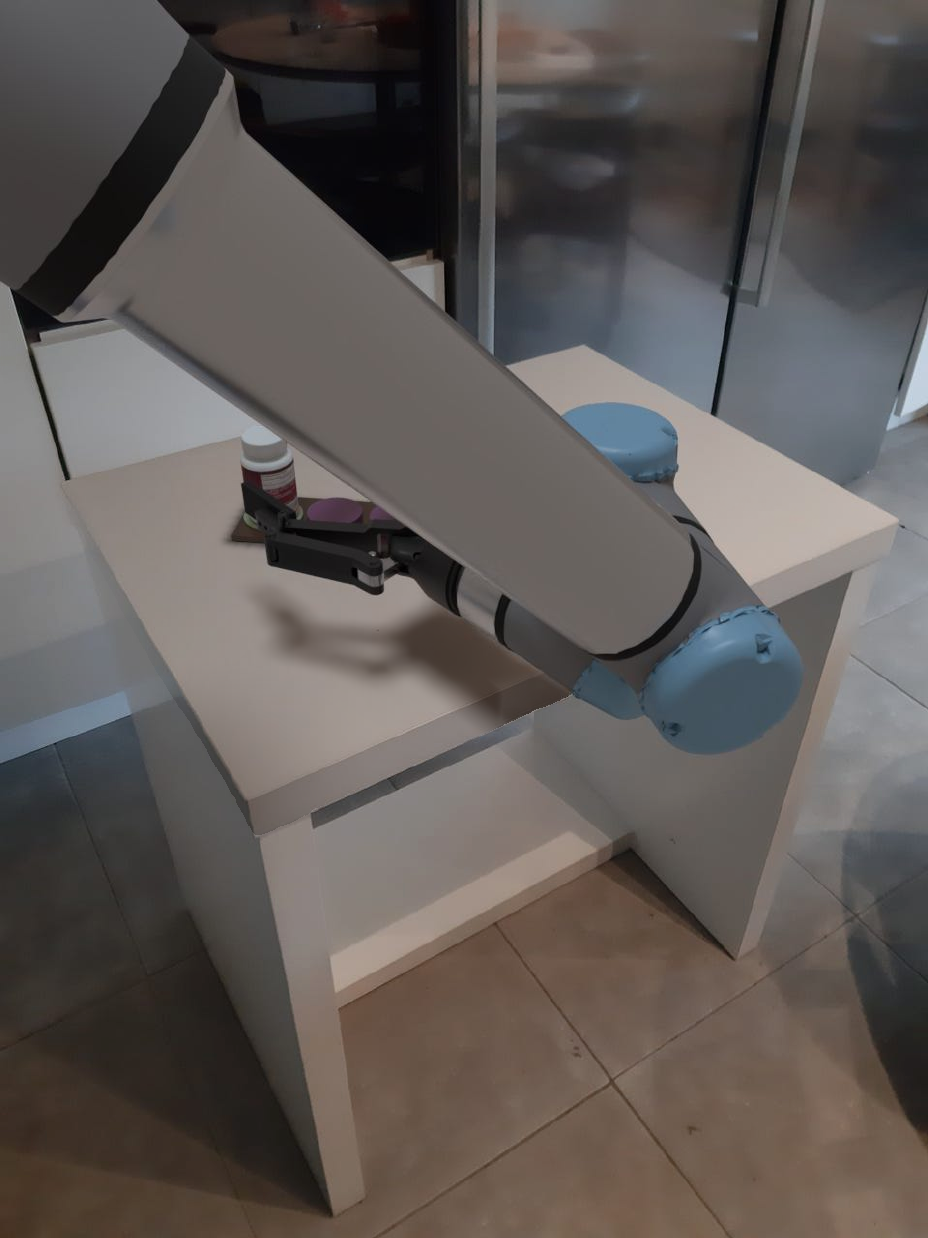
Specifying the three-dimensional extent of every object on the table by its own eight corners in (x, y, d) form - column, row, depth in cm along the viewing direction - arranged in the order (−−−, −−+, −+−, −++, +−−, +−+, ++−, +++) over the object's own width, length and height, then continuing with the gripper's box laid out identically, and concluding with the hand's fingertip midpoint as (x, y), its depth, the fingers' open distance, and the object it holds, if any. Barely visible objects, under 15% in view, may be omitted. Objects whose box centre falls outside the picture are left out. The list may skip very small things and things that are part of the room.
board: (231, 540, 91) (229, 526, 90) (255, 499, 97) (253, 485, 96) (423, 554, 89) (422, 539, 88) (435, 511, 95) (435, 496, 94)
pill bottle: (242, 508, 94) (229, 428, 89) (289, 496, 96) (279, 418, 91) (257, 532, 91) (245, 450, 86) (306, 519, 92) (297, 439, 87)
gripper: (355, 692, 66) (192, 561, 78) (599, 553, 80) (427, 461, 92) (347, 602, 61) (176, 478, 74) (608, 472, 75) (426, 385, 87)
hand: (315, 468), depth 83 cm, fingers open, 13 cm apart
